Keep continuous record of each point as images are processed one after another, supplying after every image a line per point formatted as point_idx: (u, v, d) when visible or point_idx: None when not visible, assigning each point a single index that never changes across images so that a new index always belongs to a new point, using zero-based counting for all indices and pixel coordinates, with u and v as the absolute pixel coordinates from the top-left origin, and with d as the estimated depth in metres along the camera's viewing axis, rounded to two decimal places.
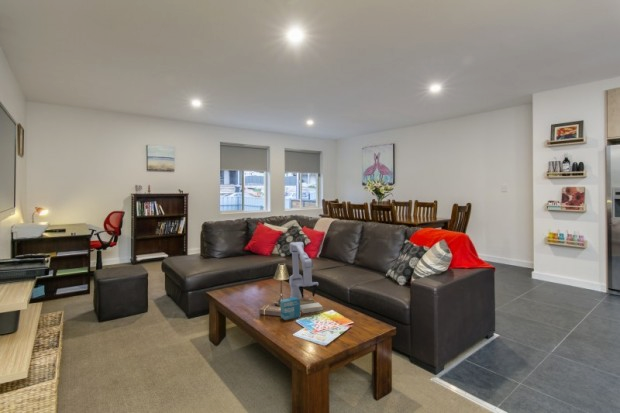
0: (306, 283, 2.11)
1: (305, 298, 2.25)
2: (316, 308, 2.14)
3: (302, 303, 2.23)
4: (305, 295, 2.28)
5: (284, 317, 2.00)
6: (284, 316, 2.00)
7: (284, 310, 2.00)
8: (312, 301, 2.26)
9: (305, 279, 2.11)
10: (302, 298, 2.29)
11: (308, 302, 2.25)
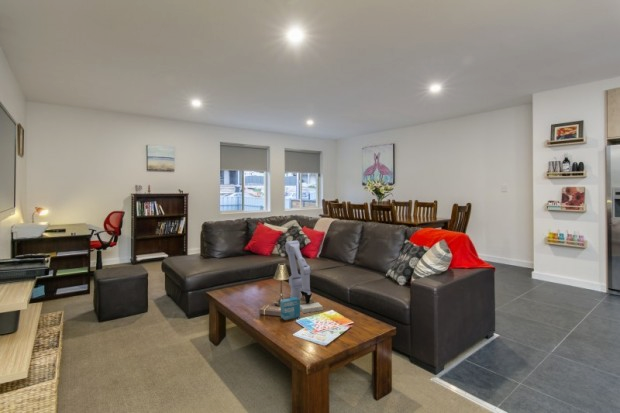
0: None
1: None
2: (316, 308, 2.14)
3: (302, 303, 2.23)
4: None
5: (284, 317, 2.00)
6: (284, 316, 2.00)
7: (284, 310, 2.00)
8: (312, 301, 2.26)
9: None
10: (302, 298, 2.29)
11: None
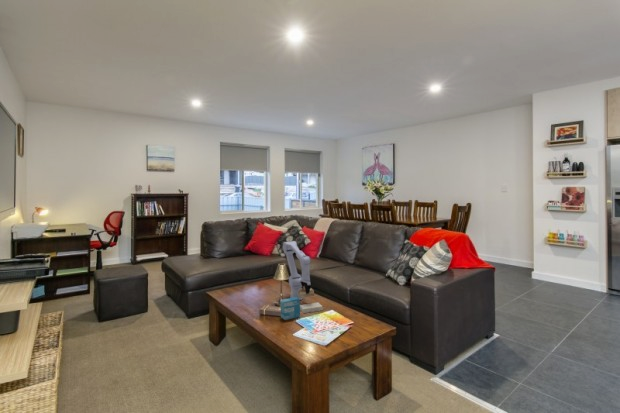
0: None
1: None
2: (316, 308, 2.14)
3: (302, 294, 2.23)
4: None
5: (284, 317, 2.00)
6: (284, 316, 2.00)
7: (284, 310, 2.00)
8: (312, 292, 2.25)
9: None
10: (302, 289, 2.29)
11: None
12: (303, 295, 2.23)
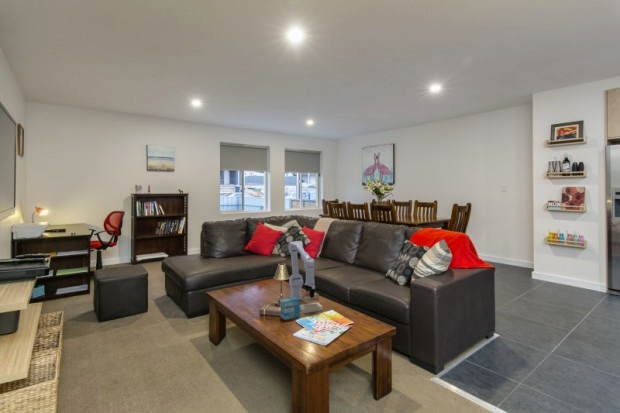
0: None
1: (309, 293, 2.16)
2: (316, 308, 2.14)
3: (306, 298, 2.14)
4: None
5: (284, 317, 2.00)
6: (284, 316, 2.00)
7: (284, 310, 2.00)
8: (317, 296, 2.17)
9: None
10: None
11: None
12: (307, 300, 2.14)
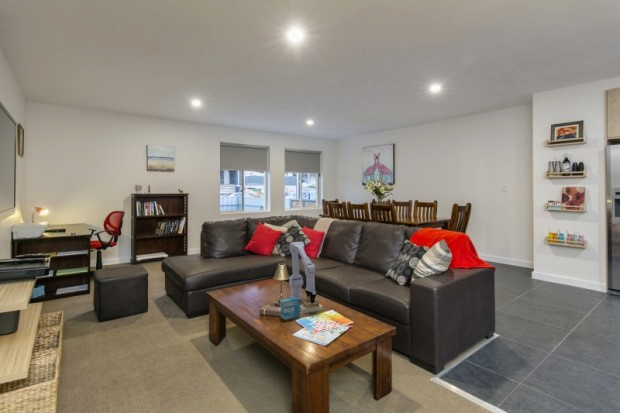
0: None
1: None
2: (316, 308, 2.14)
3: (307, 304, 2.13)
4: None
5: (284, 317, 2.00)
6: (284, 316, 2.00)
7: (284, 310, 2.00)
8: (317, 302, 2.16)
9: None
10: (307, 299, 2.19)
11: (313, 303, 2.15)
12: (308, 305, 2.14)
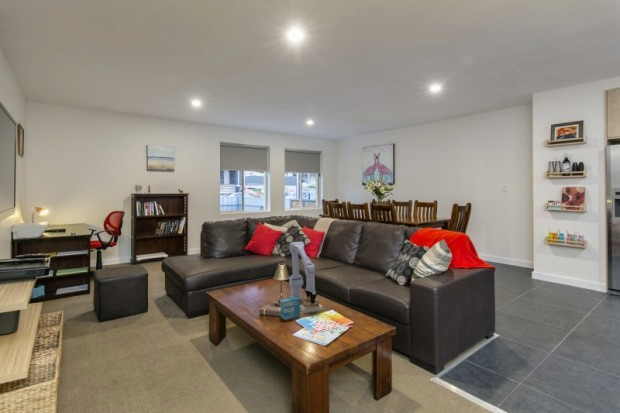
0: None
1: (310, 299, 2.15)
2: (316, 308, 2.14)
3: (307, 304, 2.13)
4: None
5: (284, 317, 2.00)
6: (284, 316, 2.00)
7: (284, 310, 2.00)
8: (317, 302, 2.16)
9: None
10: (307, 299, 2.19)
11: None
12: (308, 305, 2.14)
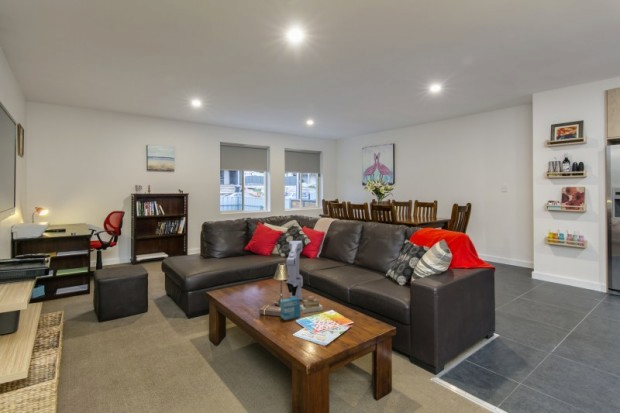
0: None
1: (310, 299, 2.15)
2: (316, 308, 2.14)
3: (307, 304, 2.13)
4: (310, 296, 2.18)
5: (284, 317, 2.00)
6: (284, 316, 2.00)
7: (284, 310, 2.00)
8: (317, 302, 2.16)
9: None
10: (307, 299, 2.19)
11: (313, 303, 2.15)
12: (308, 305, 2.14)
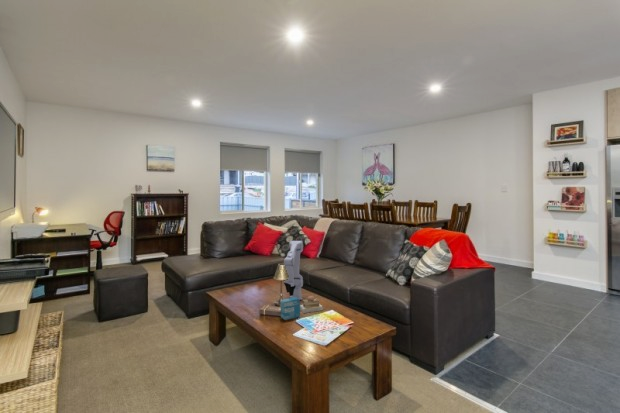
0: None
1: (310, 299, 2.15)
2: (316, 308, 2.14)
3: (307, 304, 2.13)
4: (310, 296, 2.18)
5: (284, 317, 2.00)
6: (284, 316, 2.00)
7: (284, 310, 2.00)
8: (317, 302, 2.16)
9: None
10: (307, 299, 2.19)
11: (313, 303, 2.15)
12: (308, 305, 2.14)
